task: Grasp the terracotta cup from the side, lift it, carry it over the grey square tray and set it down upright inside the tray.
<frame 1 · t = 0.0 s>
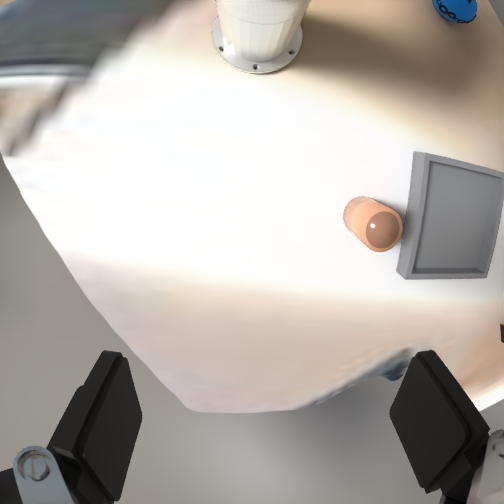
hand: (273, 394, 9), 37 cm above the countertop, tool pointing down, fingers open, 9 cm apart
grey square tray: (451, 217, 45), on the countertop
ornament: (441, 8, 32), on the countertop
terracotta cup: (361, 215, 45), on the countertop
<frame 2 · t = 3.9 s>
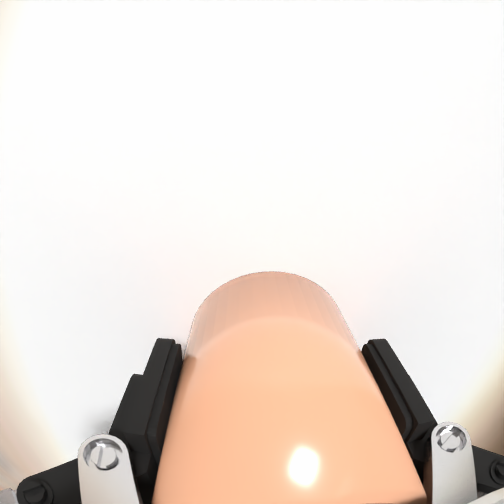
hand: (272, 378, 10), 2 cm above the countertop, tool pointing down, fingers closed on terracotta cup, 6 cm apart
terracotta cup: (268, 342, 12), on the countertop, touching gripper
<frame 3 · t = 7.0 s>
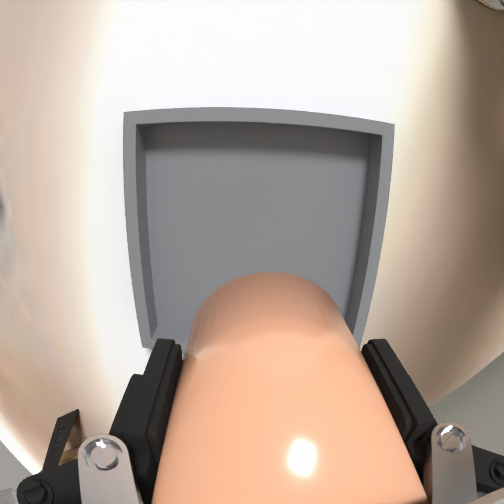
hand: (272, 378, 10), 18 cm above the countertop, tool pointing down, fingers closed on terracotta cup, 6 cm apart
picture frame: (83, 426, 36), on the countertop
grey square tray: (255, 232, 26), on the countertop
terracotta cup: (268, 342, 12), point 16 cm above the countertop, touching gripper
when the fingers open (4 cm above the countertop, at t = 10.4 s): terracotta cup stays where it is, resting on grey square tray.
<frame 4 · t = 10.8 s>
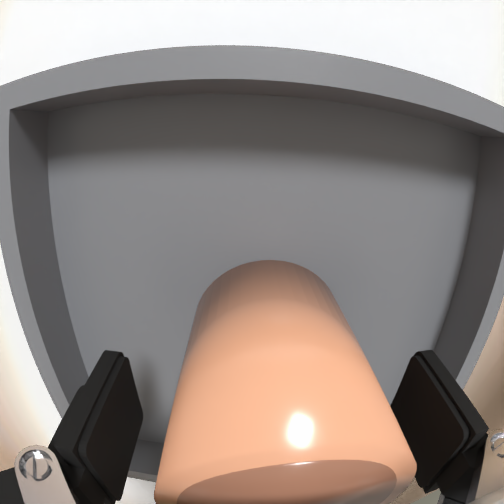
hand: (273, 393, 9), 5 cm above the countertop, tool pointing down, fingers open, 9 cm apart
grey square tray: (264, 316, 14), on the countertop
terracotta cup: (267, 327, 13), point 1 cm above the countertop, touching grey square tray
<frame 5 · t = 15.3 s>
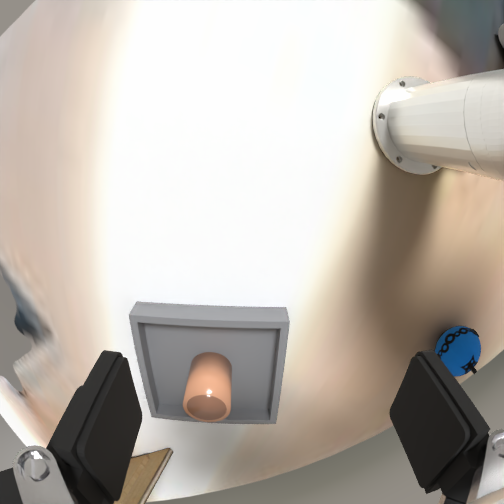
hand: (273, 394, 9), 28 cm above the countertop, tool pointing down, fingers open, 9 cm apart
picture frame: (109, 450, 53), on the countertop
grey square tray: (211, 363, 43), on the countertop
ornament: (445, 336, 44), on the countertop
terracotta cup: (211, 367, 42), point 1 cm above the countertop, touching grey square tray
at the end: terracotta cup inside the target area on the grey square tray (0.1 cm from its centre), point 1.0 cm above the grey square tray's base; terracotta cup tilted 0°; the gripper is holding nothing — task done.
